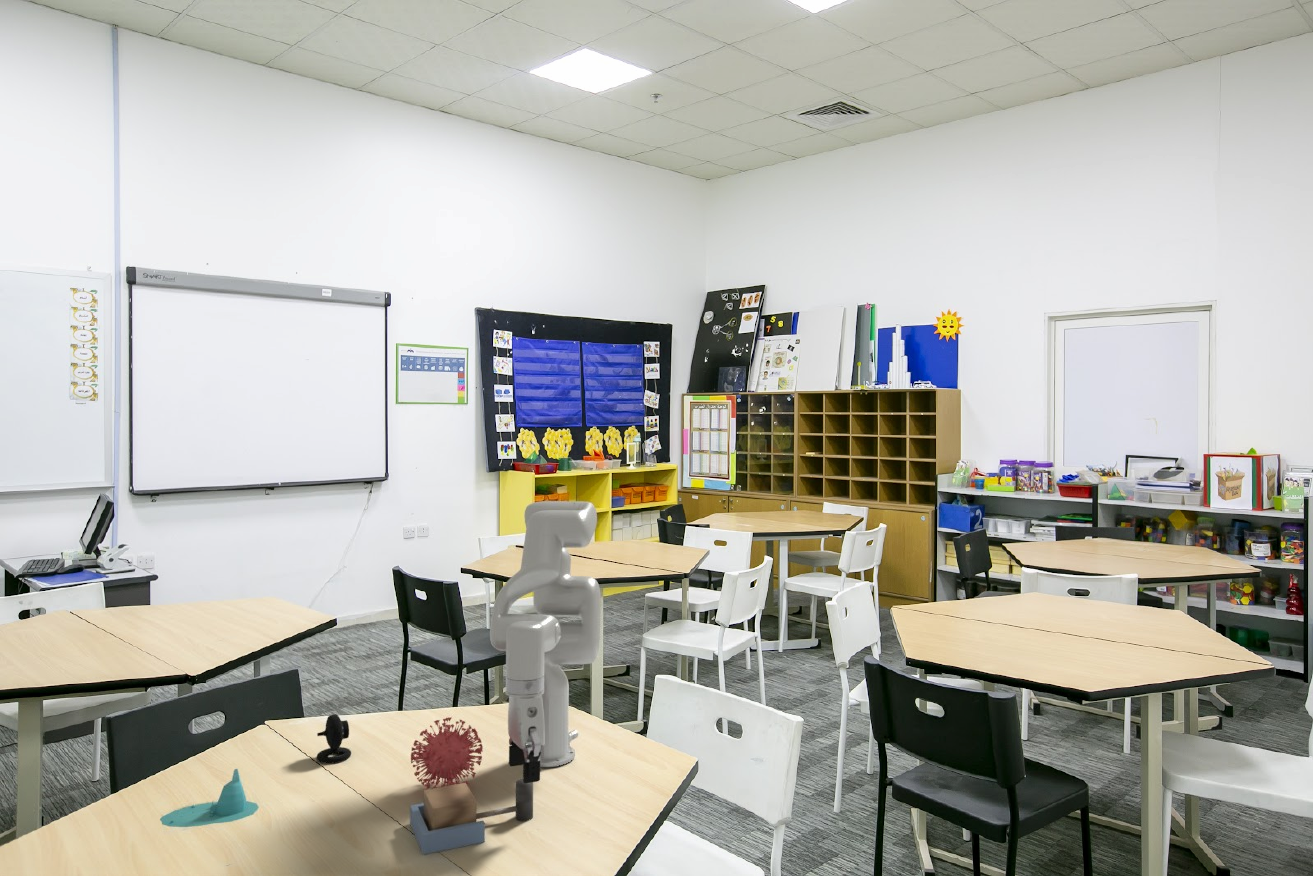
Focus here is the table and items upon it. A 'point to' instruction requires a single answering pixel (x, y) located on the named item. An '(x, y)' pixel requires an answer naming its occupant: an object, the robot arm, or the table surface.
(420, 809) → the blue-grey u-shaped piece
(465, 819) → the tether block
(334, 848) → the table surface
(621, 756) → the table surface
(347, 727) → the webcam
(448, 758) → the virus model
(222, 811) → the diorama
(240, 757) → the table surface
